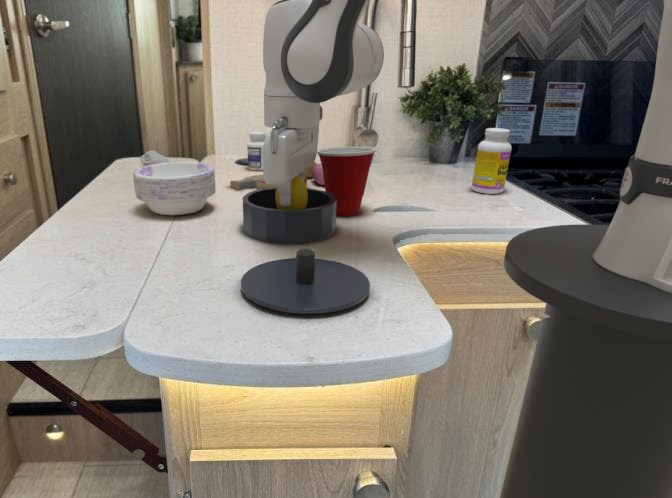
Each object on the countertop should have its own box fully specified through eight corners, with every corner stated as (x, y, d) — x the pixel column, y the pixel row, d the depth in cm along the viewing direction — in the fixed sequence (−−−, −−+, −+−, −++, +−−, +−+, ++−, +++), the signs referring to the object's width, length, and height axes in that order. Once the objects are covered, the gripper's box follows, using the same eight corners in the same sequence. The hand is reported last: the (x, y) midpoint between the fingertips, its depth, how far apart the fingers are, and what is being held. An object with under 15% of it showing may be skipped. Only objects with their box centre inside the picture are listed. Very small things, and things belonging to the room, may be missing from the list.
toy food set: (305, 169, 138) (305, 153, 136) (356, 180, 127) (357, 162, 126) (227, 187, 122) (226, 169, 120) (279, 200, 111) (279, 181, 109)
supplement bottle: (495, 196, 114) (507, 133, 108) (465, 191, 118) (475, 129, 112) (508, 190, 118) (520, 129, 113) (479, 185, 122) (488, 126, 117)
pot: (342, 219, 99) (343, 190, 97) (323, 248, 86) (324, 214, 83) (260, 212, 104) (260, 184, 101) (230, 238, 90) (228, 206, 88)
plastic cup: (345, 201, 111) (348, 140, 106) (383, 213, 103) (389, 148, 98) (303, 209, 105) (304, 146, 100) (339, 223, 97) (343, 155, 92)
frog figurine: (146, 178, 130) (143, 148, 127) (175, 178, 129) (173, 148, 126) (138, 184, 124) (135, 153, 121) (168, 184, 124) (166, 153, 121)
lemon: (270, 217, 95) (270, 171, 92) (299, 213, 97) (300, 168, 94) (282, 226, 91) (282, 178, 87) (312, 222, 92) (313, 174, 89)
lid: (377, 272, 77) (380, 237, 74) (357, 327, 62) (360, 285, 60) (264, 260, 81) (264, 226, 79) (221, 307, 67) (219, 268, 64)
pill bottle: (261, 165, 142) (260, 130, 139) (272, 169, 139) (272, 133, 135) (243, 168, 140) (243, 132, 136) (255, 171, 136) (254, 135, 132)
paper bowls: (132, 203, 110) (128, 163, 106) (206, 196, 114) (204, 158, 111) (142, 224, 97) (137, 180, 93) (225, 216, 101) (223, 173, 98)
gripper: (293, 123, 77) (293, 217, 83) (325, 107, 94) (323, 186, 100) (251, 121, 78) (254, 214, 84) (290, 107, 96) (290, 184, 102)
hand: (291, 199), depth 92 cm, fingers closed on lemon, 5 cm apart
